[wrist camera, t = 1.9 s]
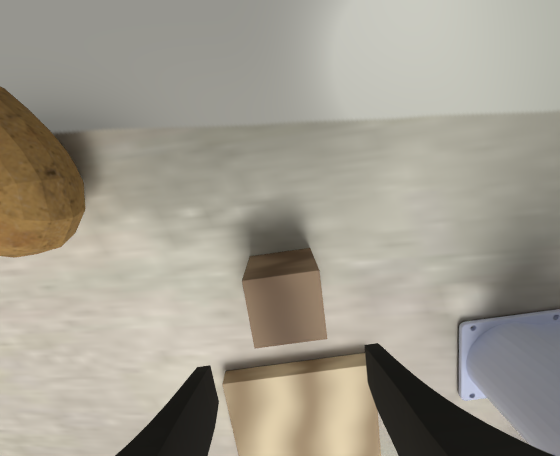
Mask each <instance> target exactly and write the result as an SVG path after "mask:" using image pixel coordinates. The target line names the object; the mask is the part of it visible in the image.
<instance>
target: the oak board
mask: <svg viewBox="0 0 560 456" xmlns="http://www.w3.org/2000/svg"><path fill="white" fill-rule="evenodd" d="M223 389H224V393H225V397H226V402H227V406H228V411H229V415H230V419H231V424H232V428H233V433H234V437H235V441H236V446H237V450H238V455H239V456H381V451H380V438H379V425H378V412H377V408H376V405H375V402H374V400H373V397H372V394H371V391H370V388H369V385H368V381H367V369H366V357H365V353H360V354H353V355H345V356H337V357H330V358H322V359H315V360H307V361H299V362H292V363H284V364H277V365H269V366H261V367H254V368H246V369H239V370H231V371H226V372H225V376H224V380H223Z"/></svg>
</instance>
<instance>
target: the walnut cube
mask: <svg viewBox="0 0 560 456" xmlns="http://www.w3.org/2000/svg"><path fill="white" fill-rule="evenodd" d="M242 283H243V289H244V294H245V299H246V305H247V310H248V315H249V321H250V326H251V332H252V337H253V342H254V348H262V347H269V346H277V345H284V344H292V343H300V342H307V341H315V340H323V339H327V332H326V323H325V315H324V306H323V298H322V289H321V281H320V272H319V268H318V266H317V264H316V261H315V259H314V256H313V254H312V251H311V249H310V248H306V249H299V250H292V251H285V252H278V253H270V254H263V255H256V256H250V258H249V261H248V264H247V267H246V270H245V273H244V276H243V280H242Z"/></svg>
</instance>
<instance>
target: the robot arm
mask: <svg viewBox="0 0 560 456" xmlns="http://www.w3.org/2000/svg"><path fill="white" fill-rule="evenodd" d="M472 326H473V327H472ZM471 327H472V328H471ZM365 357H366V369H367V381H368V385H369V388H370V391H371V394H372V397H373V400H374V402H375V405H376V408H377V410H378V412H379V414H380V416H381V419H382V421H383V423H384V425H385V427H386V429H387V432H388V434H389V436H390V438H391V440H392V442H393V444H394V446H395V449H396V451H397V453H398V455H399V456H560V309H557V310H549V311H541V312H534V313H526V314H519V315H511V316H504V317H496V318H489V319H481V320H474V321H466V322H462V323H461V324H460V326H459V396H460V397H461V399H462V400H466V401H467V400H475V399H483V398H488V399H489V401H490V402H491V403H492V404H493V405H494V406H495V407H496V408H497V409H498V410H499V412H500V413H501V414H502V415H503V416H504V417H505V418H506V419H507V420H508V421H509V422H510V424H511V425H512V426H513V427H514V428H515V429H516V430H517V431H518V432H519V433H520V435H521V436H522V437H523V438H524V439H525V440H526V441H527V442H528V443H529V444H530V445H529V444H527V443H524V442H522V441H520V440H518V439H516V438H514V437H512V436H510V435H508V434H506V433H504V432H502V431H500V430H498V429H496V428H494V427H492V426H491V425H489V424H487V423H485V422H483V421H482V420H480V419H478V418H476V417H475V416H473V415H471V414H469V413H468V412H466V411H464V410H463V409H461V408H459V407H458V406H456V405H455V404H453V403H452V402H450V401H449V400H447V399H446V398H444V397H443V396H441V395H440V394H438V393H437V392H435V391H434V390H433V389H431V388H430V387H429V386H427V385H426V384H425V383H423V382H422V381H421V380H420V379H418V378H417V377H416V376H415V375H413V374H412V373H411V372H410V371H409V370H407V369H406V368H405V367H404V366H403V365H402V364H400V363H399V362H398V361H397V360H396V359H395V358H394V357H393V356H391V355H390V354H389V353H388V352H387V351H386V350H385V349H384V348H383V347H382V346H380V345H379V344H378V343H376V344H369V345H365ZM218 404H219V401H218V396H217V392H216V388H215V384H214V379H213V375H212V371H211V367H210V366H203V367H197V368H196V369H195V371H194V372H193V373H192V374H191V375H190V377H189V378H188V379H187V380H186V381H185V383H184V384H183V385H182V386H181V388H180V389H179V390H178V391H177V392H176V394H175V395H174V396H173V397H172V398H171V399H170V401H169V402H168V403H167V404H166V405H165V406H164V408H163V409H162V410H161V411H160V412H159V413H158V414H157V415H156V416H155V417H154V418H153V420H152V421H151V422H150V423H149V424H148V425H147V426H146V427H145V428H144V429H143V430H142V431H141V432H140V433H139V434H138V435H137V436H136V437H135V438H134V439H133V440H132V441H131V442H130V443H129V444H128V445H127V446H126V447H124V448H123V449H122V450H121V451H120V452H119V453H118V454H117V455H115V456H208V452H209V448H210V444H211V440H212V437H213V433H214V429H215V424H216V418H217V411H218Z"/></svg>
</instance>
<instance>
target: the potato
mask: <svg viewBox="0 0 560 456" xmlns="http://www.w3.org/2000/svg"><path fill="white" fill-rule="evenodd" d="M84 211H85V197H84V183H83V181H82V178H81V176H80V174H79V172H78V170H77V168H76V165H75V164H74V162H73V161H72V159H71V157H70V156H69V154H68V153H67V151H66V150H65V148H64V147H63V146H62V145H61V144H60V142H59V141H58V140H57V139H56V138H55V136H54V135H53V134H52V133H51V132H50V130H49V129H48V128H47V127H46V126H45V125H44V124H43V123H41V122H40V120H38V118H36V116H35V115H34V114H32V112H30V110H28V109H27V108H26V107H25V106H24V105H23V104H22V103H20V102H19V101H18V100H17V99H16V98H15V97H14V96H12V95H11V94H10V93H9V92H8V91H6V90H5V89H4V88H2V87H0V256H6V257H21V256H27V255H34V254H39V253H42V252H45V251H49V250H52V249H56V248H59V247H61V246H62V245H63V244H64V243H65V242H66V241H67V240H68V239H69V238H71V237H72V236H73V235H74V234H75V232H76V230H77V228H78V225H79V223H80V221H81V218H82V216H83V214H84Z"/></svg>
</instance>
